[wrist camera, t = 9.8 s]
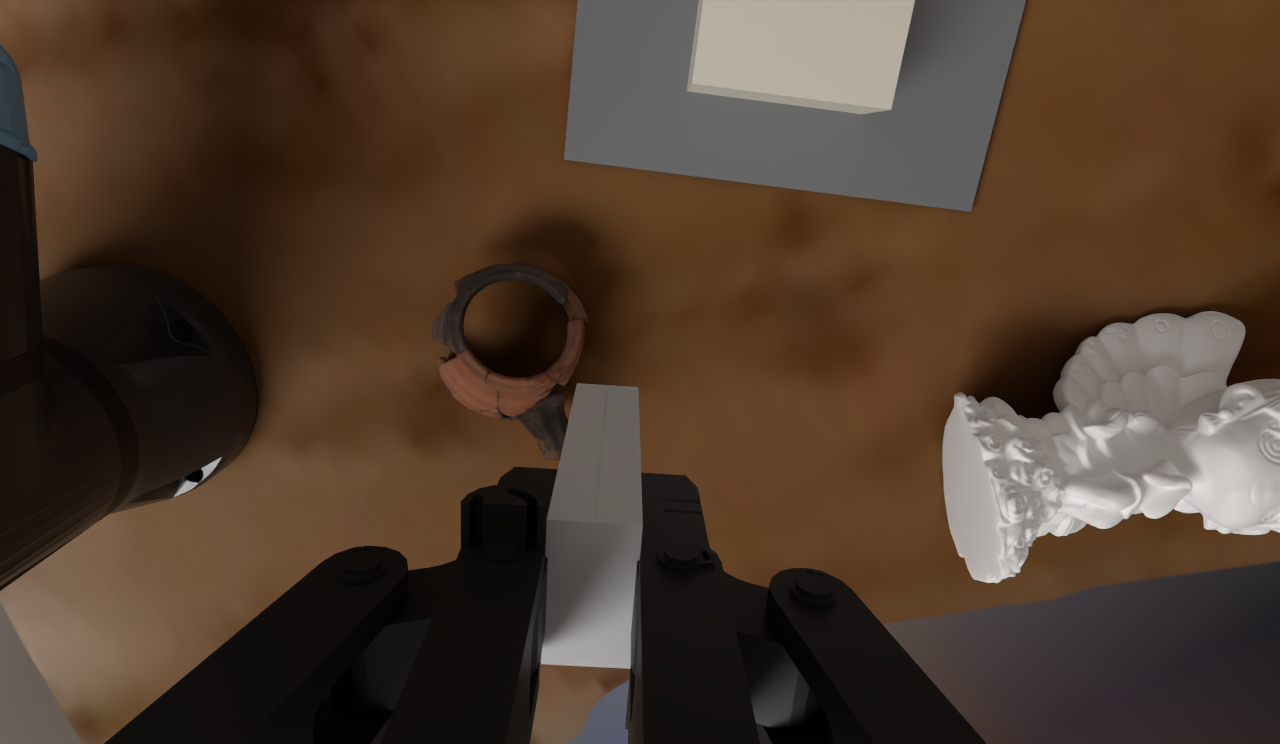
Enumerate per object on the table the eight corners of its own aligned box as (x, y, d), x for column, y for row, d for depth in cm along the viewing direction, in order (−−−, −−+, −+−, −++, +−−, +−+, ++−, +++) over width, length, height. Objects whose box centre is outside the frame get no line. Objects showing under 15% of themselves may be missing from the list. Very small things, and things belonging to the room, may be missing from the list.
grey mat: (564, 159, 41) (564, 159, 41) (588, -118, 37) (588, -121, 37) (968, 211, 42) (970, 211, 41) (1037, -56, 38) (1041, -58, 37)
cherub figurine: (987, 404, 35) (1466, 346, 31) (921, 341, 46) (1264, 294, 43) (998, 631, 38) (1430, 601, 35) (935, 518, 50) (1252, 488, 47)
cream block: (692, 83, 35) (892, 109, 35) (707, -30, 33) (916, -2, 34) (686, 91, 40) (863, 114, 40) (699, -8, 38) (883, 17, 38)
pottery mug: (406, 332, 45) (395, 298, 37) (533, 263, 48) (548, 218, 40) (507, 491, 45) (517, 492, 37) (627, 413, 48) (661, 398, 40)
